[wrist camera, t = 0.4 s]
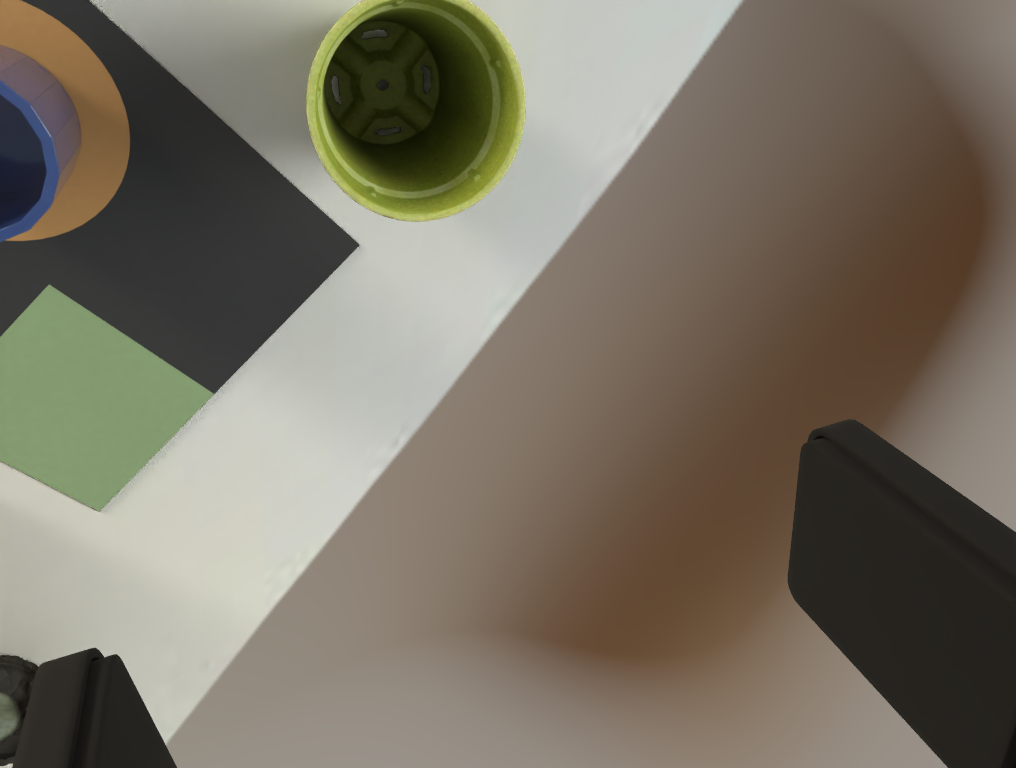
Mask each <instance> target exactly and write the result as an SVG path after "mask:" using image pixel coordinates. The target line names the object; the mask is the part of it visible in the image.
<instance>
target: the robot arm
mask: <svg viewBox="0 0 1016 768" xmlns="http://www.w3.org/2000/svg"><path fill="white" fill-rule="evenodd" d="M788 585H789V589H790V591H791V594H792V596H793V598H794V599H795V601H796V602H797V603H798V605H799V606H800V607H801V608H802V609H803V610H804V611H805V612H806V613H807V614H808V615H809V617H810V618H811V619H812V620H813V621H814V622H815V623H816V624H817V625H818V626H819V628H820V629H821V630H822V631H823V632H824V633H825V634H826V635H827V636H828V637H829V638H830V639H831V641H832V642H833V643H834V644H835V645H836V646H837V647H838V648H839V649H840V650H841V651H842V653H843V654H844V655H845V656H846V657H847V658H848V659H849V660H850V661H851V662H852V663H853V665H854V666H856V668H857V669H858V670H859V671H860V672H861V673H862V674H863V675H864V677H865V678H866V679H867V680H868V681H869V682H870V683H871V684H872V685H873V686H874V687H875V688H876V690H877V691H878V692H879V693H880V694H881V695H882V696H883V697H884V698H885V699H886V700H887V701H888V703H889V704H890V705H891V706H892V707H893V708H894V709H895V710H896V711H897V712H898V714H899V715H901V716H902V718H903V719H904V720H905V721H906V722H907V723H908V724H909V725H910V726H911V728H912V729H913V730H914V731H915V732H916V733H917V734H918V735H919V736H920V738H921V739H922V740H923V741H924V742H925V743H926V744H927V745H928V746H929V747H930V748H931V749H932V751H933V752H934V753H935V754H936V755H937V756H938V757H939V758H940V759H941V760H942V761H943V763H944V764H945V765H946V766H947V767H948V768H1016V532H1014V531H1013V530H1012V529H1010V528H1009V527H1007V526H1006V525H1005V524H1003V523H1002V522H1000V521H999V520H997V519H996V518H995V517H993V516H992V515H990V514H989V513H988V512H986V511H985V510H983V509H982V508H980V507H979V506H978V505H976V504H975V503H973V502H972V501H971V500H969V499H968V498H966V497H965V496H963V495H962V494H961V493H959V492H958V491H956V490H955V489H953V488H952V487H951V486H949V485H948V484H946V483H945V482H944V481H942V480H941V479H939V478H938V477H936V476H935V475H934V474H932V473H931V472H929V471H928V470H927V469H925V468H924V467H922V466H921V465H919V464H918V463H917V462H915V461H913V460H912V459H911V458H909V457H908V456H907V455H905V454H904V453H902V452H901V451H900V450H898V449H896V448H895V447H894V446H892V445H891V444H890V443H888V442H887V441H885V440H884V439H882V438H881V437H880V436H878V435H877V434H875V433H874V432H873V431H871V430H870V429H868V428H867V427H866V426H864V425H863V424H861V423H859V422H857V421H856V420H850V419H848V420H844V421H841V422H838V423H835V424H831V425H828V426H825V427H822V428H818V429H815V430H813V431H812V432H811V434H810V435H809V438H808V442H807V443H805V444H804V445H803V446H802V448H801V453H800V463H799V472H798V483H797V492H796V502H795V512H794V521H793V531H792V541H791V550H790V560H789V570H788ZM12 768H177V767H176V765H175V763H174V761H173V759H172V757H171V755H170V753H169V751H168V749H167V747H166V745H165V743H164V741H163V739H162V737H161V735H160V733H159V731H158V729H157V728H156V726H155V724H154V722H153V720H152V718H151V716H150V714H149V712H148V710H147V708H146V706H145V704H144V702H143V700H142V698H141V696H140V694H139V692H138V691H137V689H136V687H135V685H134V683H133V681H132V679H131V677H130V675H129V673H128V671H127V669H126V667H125V665H124V663H123V661H122V660H121V658H120V657H119V656H118V655H117V654H115V655H111V656H108V657H104V656H103V655H102V653H101V652H100V651H99V650H98V649H96V648H91V649H88V650H84V651H81V652H78V653H74V654H71V655H68V656H65V657H61V658H58V659H55V660H51V661H48V662H45V663H42V664H41V665H40V666H39V667H38V669H37V672H36V675H35V678H34V682H33V686H32V691H31V695H30V699H29V703H28V707H27V711H26V715H25V719H24V723H23V727H22V731H21V735H20V739H19V743H18V747H17V751H16V755H15V759H14V763H13V767H12Z"/></svg>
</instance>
